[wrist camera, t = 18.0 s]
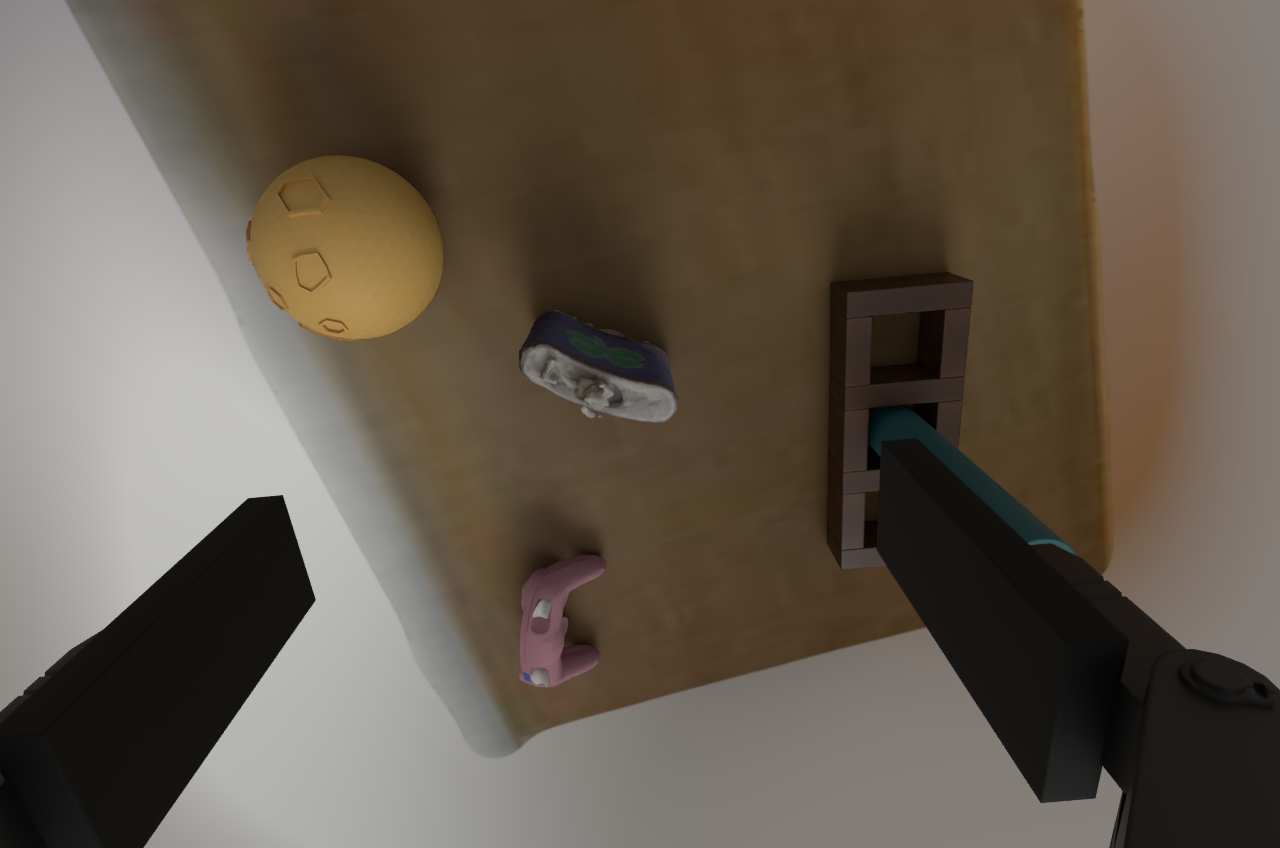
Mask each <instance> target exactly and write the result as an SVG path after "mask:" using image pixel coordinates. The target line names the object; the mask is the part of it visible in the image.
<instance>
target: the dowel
mask: <svg viewBox="0 0 1280 848" xmlns="http://www.w3.org/2000/svg"><path fill="white" fill-rule="evenodd" d="M910 438H917V439H918V440H919V441H920V442H922V443H923V444H924V445H925V446H926V447H927V448H928V449H929V450H930V451H931V452H932V453H933V454H934V455H935V456H936V457H937V458H938V459H940V460H941V461H942V462H943V463H944V464H945V465H946V466H947V467H948V468H949V469H950V470H951V471H952V472H953V473H954V474H955V475H956V476H957V477H959V478H960V479H961V480H962V481H963V482H964V483H965V484H966V485H967V486H968V487H969V488H970V489H971V490H972V491H973V492H974V493H975V494H977V495H978V496H979V497H980V498H981V499H982V500H983V501H984V502H985V503H986V504H987V505H988V506H989V507H990V508H991V509H992V510H993V511H994V512H996V513H997V514H998V515H999V516H1000V517H1001V518H1002V519H1003V520H1004V521H1005V522H1006V523H1007V524H1008V525H1009V526H1010V527H1011V528H1012V529H1013V530H1015V531H1016V532H1017V533H1018V534H1019V535H1020V536H1021V537H1022V538H1023V539H1024V540H1025V541H1026V542H1027V543H1028V544H1029V545H1035V544H1046V543H1052V544H1054V545H1056V546H1058V547H1060V548H1062V549H1064V550H1066V551H1068V552H1070V553H1072V554H1074V555H1076V554H1075V552H1074V550H1073V549H1072V548H1071V547H1070V546H1069V545H1068V544H1067V543H1066V542H1065V541H1063V540H1062V539H1061V538H1060V537H1059V536H1058V535H1056V534H1055V533H1054V532H1053V531H1052V530H1051V529H1050V528H1048V527H1047V526H1046V525H1045V524H1044V523H1043V522H1041V521H1040V520H1039V519H1038V518H1037V517H1036V516H1034V515H1033V514H1032V513H1031V512H1030V511H1029V510H1028V509H1026V508H1025V507H1024V506H1023V505H1022V504H1021V503H1019V502H1018V501H1017V500H1016V499H1015V498H1014V497H1012V496H1011V495H1010V494H1009V493H1008V492H1007V491H1006V490H1004V489H1003V488H1002V487H1001V486H1000V485H999V484H997V483H996V482H995V481H994V480H993V479H992V478H990V477H989V476H988V475H987V474H986V473H985V472H984V471H982V470H981V469H980V468H979V467H978V466H977V465H975V464H974V463H973V462H972V461H971V460H970V459H969V458H967V457H966V456H965V455H964V454H963V453H962V452H960V451H959V450H958V449H957V448H956V447H955V446H953V445H952V444H951V443H950V442H949V441H948V440H947V439H945V438H944V437H943V436H942V435H941V434H940V433H938V432H937V431H936V430H935V429H934V428H933V427H931V426H930V425H929V424H928V423H927V422H926V421H925V420H923V419H922V418H921V417H920V416H919V415H918V414H916V413H915V412H914V411H913V410H912V409H911V408H909V407H908V406H907V405H898V406H887V407H876V408H869V423H868V443H869V445H870V446H871V447H872V448H873V449H874V450H875V452H876V453H877V454H878V455H879V456H880V457H881V441H888V440H899V439H910Z"/></svg>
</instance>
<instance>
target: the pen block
mask: <svg viewBox="0 0 1280 848" xmlns="http://www.w3.org/2000/svg"><path fill="white" fill-rule="evenodd" d="M972 293H973V281H972V280H969V279H966V278H963V277H960V276H958V275H955V274H952V273H949V272H942V273H931V274H920V275H909V276H899V277H888V278H877V279H866V280H855V281H845V282H834V283H831V305H830V306H831V311H830V385H829V393H830V394H829V445H828V451H829V452H828V472H829V473H828V520H827V525H828V526H827V544H828V546H829V548H830V550H831V552H832V553H833V555H834V557H835V559H836V561H837V563H838V565H839V567H840V568H841V569H850V568H862V567H873V566H884V565H886V564H885V563H884V561H883V559H882V558H881V556H880V555H879V553H878V552H877V550H876V549H877V527H878V521H874V522H865V499H866V492H869V491H879V483H880V461H881V457H880V456H879V455H878V454H877V453H876V452H875V450H874V449H873V448H868V423H869V408H876V407H887V406H898V405H909V404H915V413H916V414H918V415H919V416H920V417H921V418H922V419H923V420H925V421H926V422H927V423H928V424H929V425H930V426H931V427H933V428H934V429H935V430H936V431H937V432H938V433H940V434H941V435H942V436H943V437H944V438H945V439H947V440H948V441H949V442H950V443H951V444H952V445H953V446H955V447H956V448H957V449H958V444H959V433H960V422H961V411H962V399H963V389H964V378H965V377H964V376H965V368H966V357H967V346H968V335H969V324H970V313H971V304H972ZM912 312H921V324H920V340H919V355H918V364H907V365H896V366H885V367H874V368H871V342H872V316H879V315H890V314H901V313H912Z"/></svg>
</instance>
